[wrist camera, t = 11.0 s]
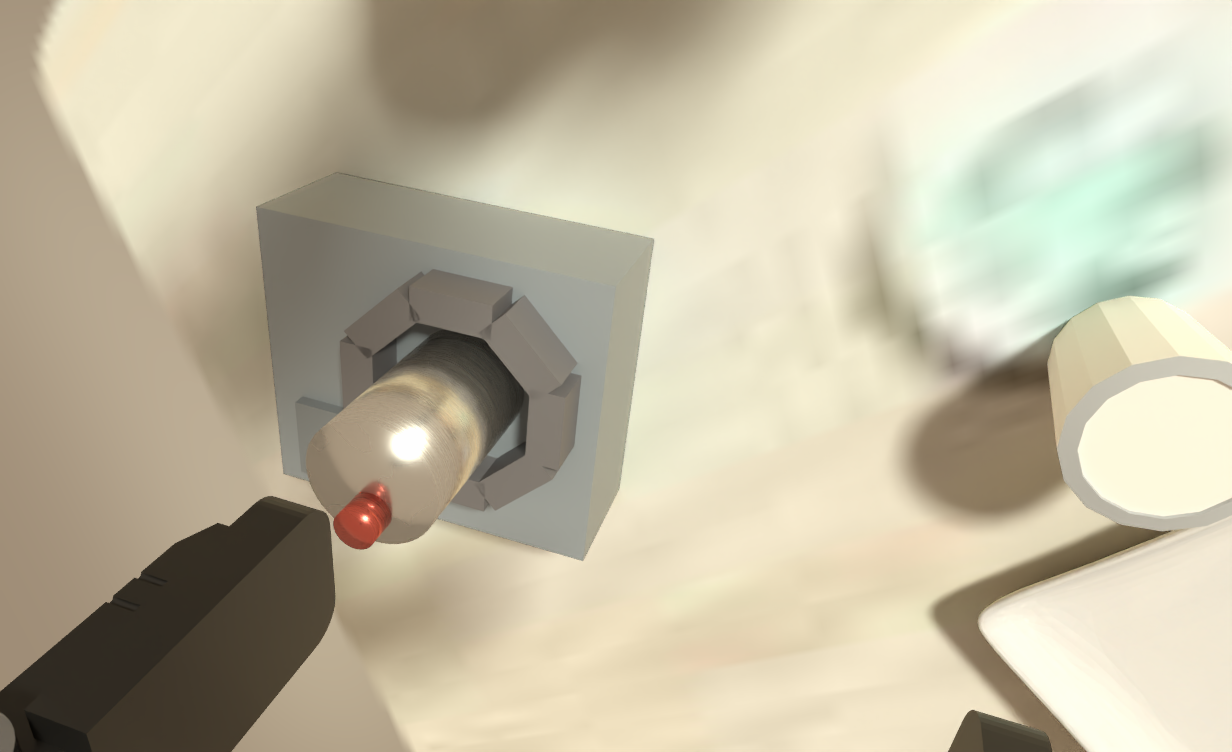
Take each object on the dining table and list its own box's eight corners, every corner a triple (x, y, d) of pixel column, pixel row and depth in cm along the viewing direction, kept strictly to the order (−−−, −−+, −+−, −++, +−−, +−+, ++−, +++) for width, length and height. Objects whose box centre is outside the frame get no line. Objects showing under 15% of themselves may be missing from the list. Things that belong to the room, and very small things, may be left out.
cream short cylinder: (1029, 434, 37) (1054, 531, 31) (1032, 287, 34) (1060, 362, 28) (1214, 432, 35) (1280, 535, 29) (1234, 274, 32) (1311, 352, 26)
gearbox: (336, 172, 41) (224, 220, 34) (654, 239, 38) (600, 306, 31) (351, 459, 49) (264, 543, 42) (612, 533, 46) (563, 637, 39)
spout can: (413, 315, 36) (278, 421, 28) (526, 342, 35) (420, 460, 27) (414, 418, 38) (291, 542, 31) (520, 446, 37) (421, 581, 30)
